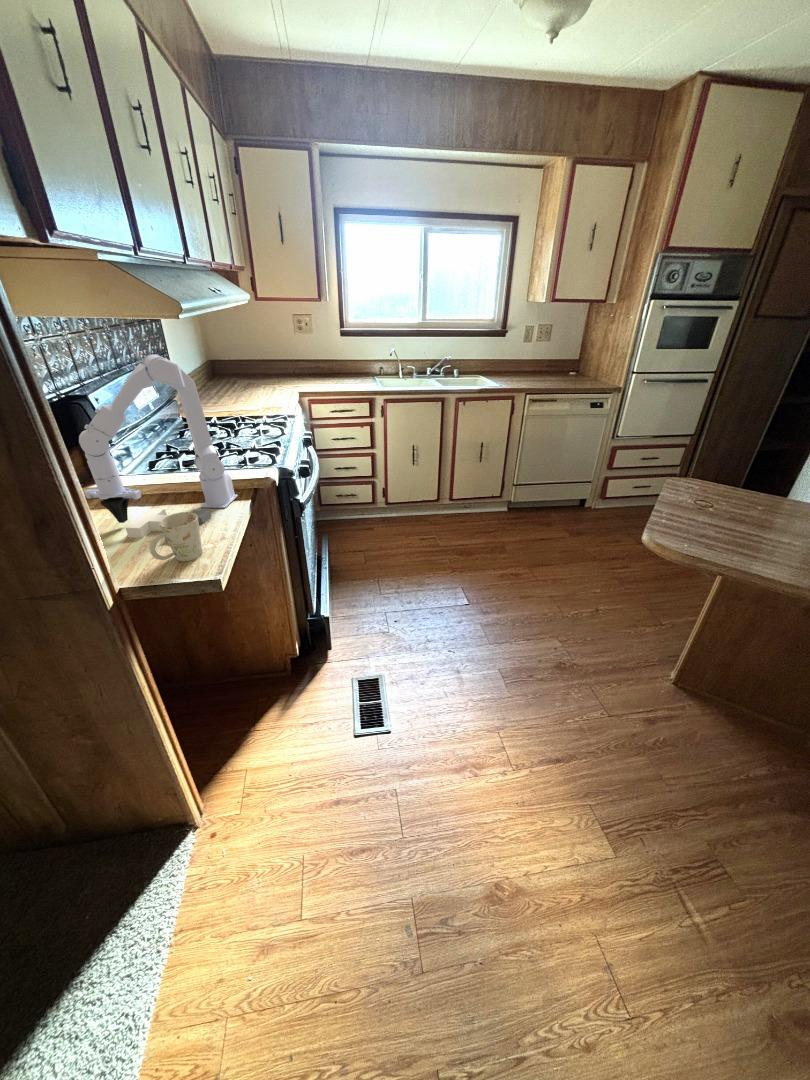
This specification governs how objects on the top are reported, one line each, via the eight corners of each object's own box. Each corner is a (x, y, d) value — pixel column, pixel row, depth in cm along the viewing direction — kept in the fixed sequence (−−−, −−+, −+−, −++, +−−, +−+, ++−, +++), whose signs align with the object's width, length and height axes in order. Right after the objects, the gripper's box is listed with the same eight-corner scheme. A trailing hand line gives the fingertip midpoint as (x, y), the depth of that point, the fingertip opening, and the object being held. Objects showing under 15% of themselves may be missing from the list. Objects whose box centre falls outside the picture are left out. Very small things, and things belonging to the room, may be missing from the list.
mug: (214, 551, 108) (204, 516, 103) (168, 576, 99) (155, 538, 94) (193, 543, 112) (183, 509, 107) (147, 566, 102) (134, 530, 97)
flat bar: (195, 515, 126) (193, 509, 125) (211, 516, 126) (209, 510, 125) (165, 541, 113) (163, 535, 112) (183, 542, 113) (181, 535, 112)
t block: (154, 517, 126) (151, 508, 124) (190, 518, 125) (187, 509, 123) (129, 537, 115) (125, 527, 114) (167, 538, 115) (164, 528, 113)
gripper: (69, 480, 110) (89, 527, 117) (122, 481, 109) (139, 528, 116) (88, 471, 116) (106, 515, 123) (139, 472, 115) (154, 516, 122)
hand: (123, 521), depth 120 cm, fingers closed
